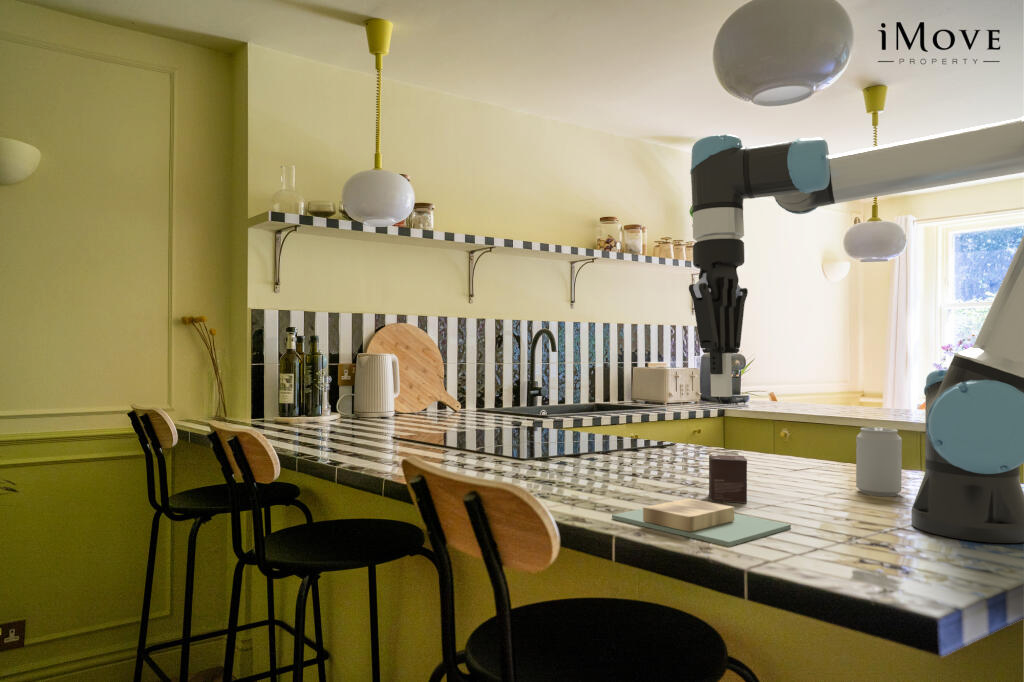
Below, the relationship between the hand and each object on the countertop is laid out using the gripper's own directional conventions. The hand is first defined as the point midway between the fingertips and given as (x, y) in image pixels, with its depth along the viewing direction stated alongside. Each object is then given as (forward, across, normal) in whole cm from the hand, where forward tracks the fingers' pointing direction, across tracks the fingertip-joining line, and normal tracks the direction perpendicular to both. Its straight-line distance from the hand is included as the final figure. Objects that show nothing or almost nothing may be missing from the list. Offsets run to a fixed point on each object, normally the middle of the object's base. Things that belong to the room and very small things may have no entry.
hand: (721, 396), depth 110 cm
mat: (+19, +4, -2) cm, 19 cm away
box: (+19, -16, -9) cm, 26 cm away
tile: (+17, +1, -2) cm, 17 cm away
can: (+20, -44, +6) cm, 48 cm away
